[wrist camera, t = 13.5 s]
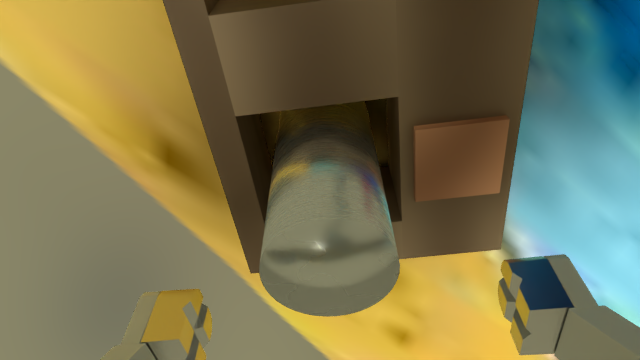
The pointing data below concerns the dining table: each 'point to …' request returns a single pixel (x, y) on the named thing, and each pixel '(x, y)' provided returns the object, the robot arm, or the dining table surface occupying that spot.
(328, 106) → the grey cylinder
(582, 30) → the dining table surface
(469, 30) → the socket block
